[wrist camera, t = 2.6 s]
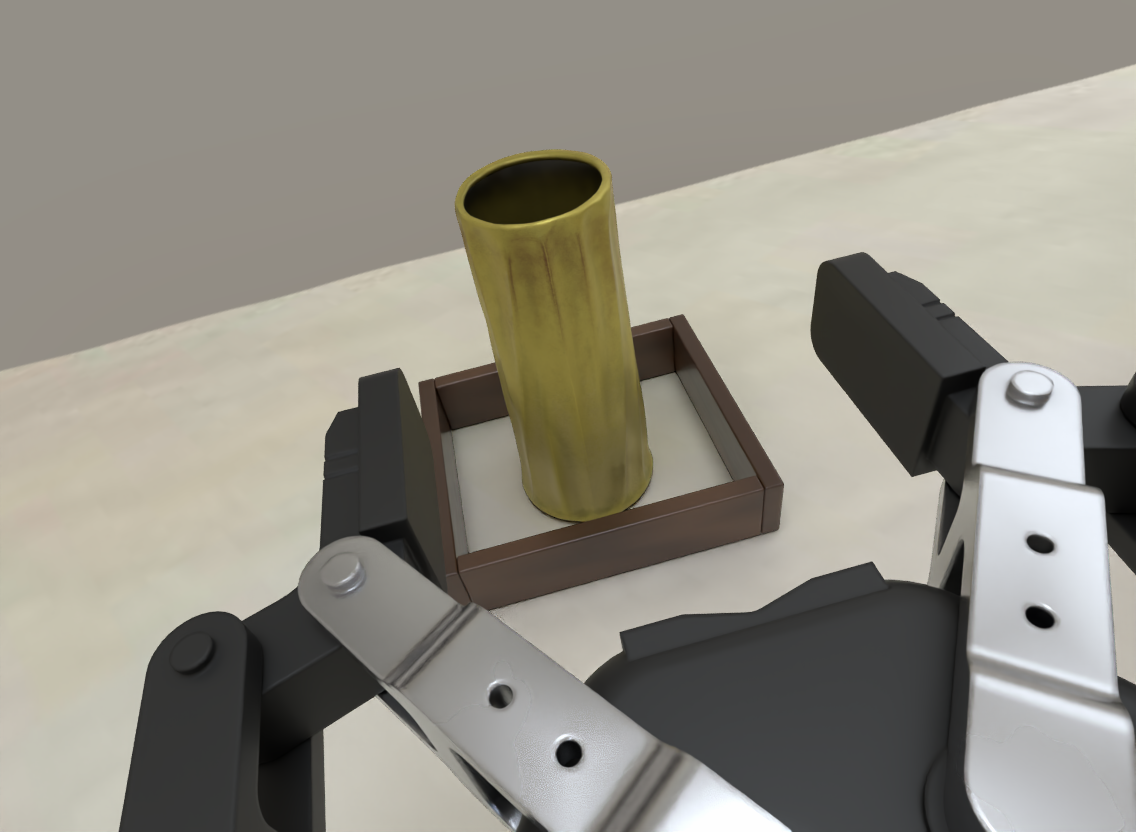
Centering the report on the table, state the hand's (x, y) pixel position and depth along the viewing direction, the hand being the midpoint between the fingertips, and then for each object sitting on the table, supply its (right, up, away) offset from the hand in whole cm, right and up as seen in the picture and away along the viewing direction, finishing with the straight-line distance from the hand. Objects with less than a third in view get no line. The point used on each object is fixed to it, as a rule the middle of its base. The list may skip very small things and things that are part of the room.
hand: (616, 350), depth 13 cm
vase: (0, -4, +19) cm, 20 cm away
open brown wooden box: (0, -4, +19) cm, 20 cm away
